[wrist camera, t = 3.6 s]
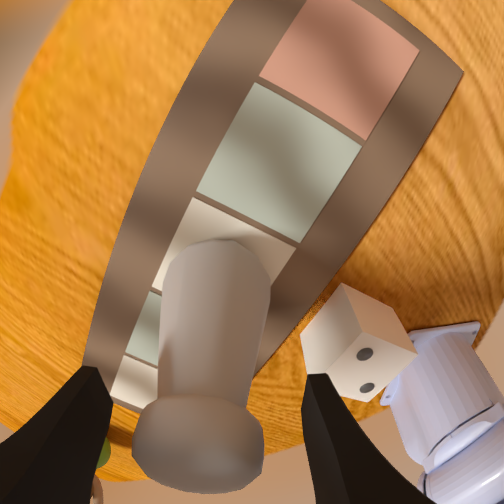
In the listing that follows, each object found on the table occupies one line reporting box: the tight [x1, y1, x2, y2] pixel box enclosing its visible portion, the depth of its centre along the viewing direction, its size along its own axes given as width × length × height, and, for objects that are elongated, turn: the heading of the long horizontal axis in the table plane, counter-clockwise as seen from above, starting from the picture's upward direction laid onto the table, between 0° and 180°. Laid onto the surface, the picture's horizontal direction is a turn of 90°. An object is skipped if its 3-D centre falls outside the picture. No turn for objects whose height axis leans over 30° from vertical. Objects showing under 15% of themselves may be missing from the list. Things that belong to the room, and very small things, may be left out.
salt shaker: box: [132, 239, 271, 494], centre depth 13 cm, size 6×6×13 cm
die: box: [300, 282, 418, 402], centre depth 20 cm, size 5×5×5 cm
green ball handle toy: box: [90, 437, 111, 504], centre depth 24 cm, size 5×6×12 cm
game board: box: [82, 0, 464, 414], centre depth 19 cm, size 37×13×1 cm, turn 151°
